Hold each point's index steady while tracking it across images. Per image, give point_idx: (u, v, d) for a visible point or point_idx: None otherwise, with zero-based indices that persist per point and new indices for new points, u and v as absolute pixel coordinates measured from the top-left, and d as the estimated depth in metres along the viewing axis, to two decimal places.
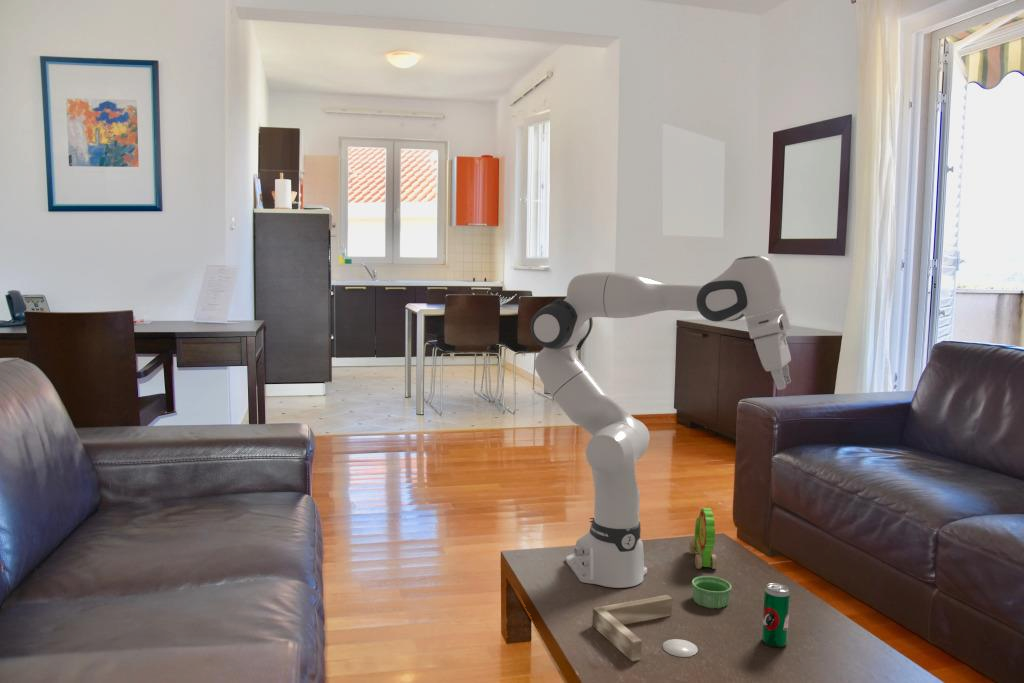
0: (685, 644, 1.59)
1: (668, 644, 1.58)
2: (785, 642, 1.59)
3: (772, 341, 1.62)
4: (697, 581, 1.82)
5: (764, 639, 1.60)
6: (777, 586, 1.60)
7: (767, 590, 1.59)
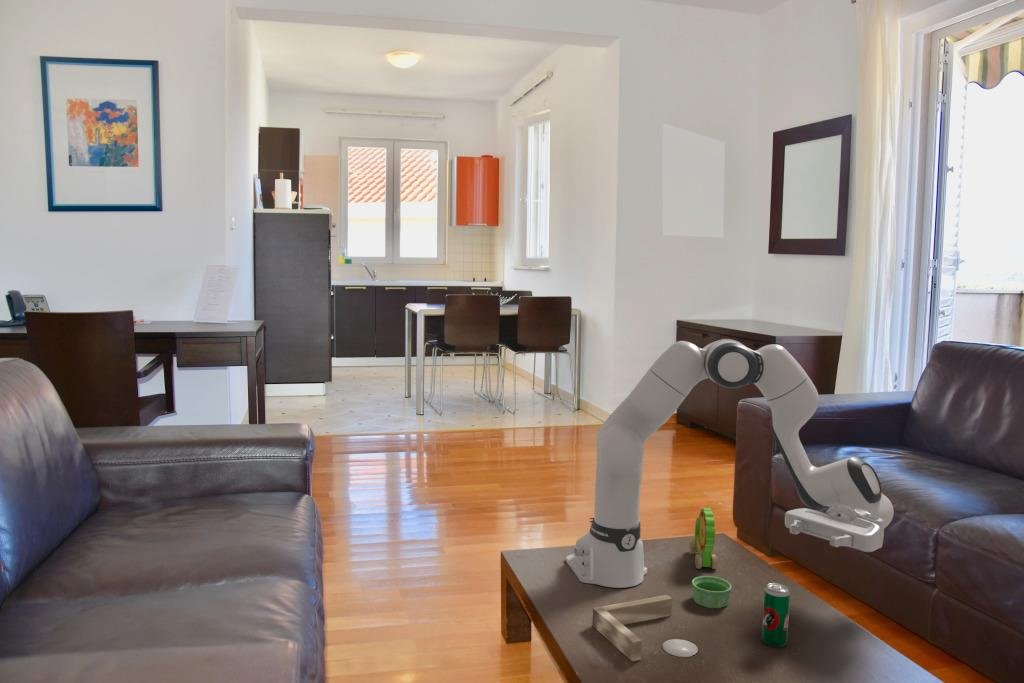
0: (685, 644, 1.59)
1: (668, 644, 1.58)
2: (785, 642, 1.59)
3: (879, 543, 1.65)
4: (697, 581, 1.82)
5: (764, 639, 1.60)
6: (777, 586, 1.60)
7: (767, 590, 1.59)
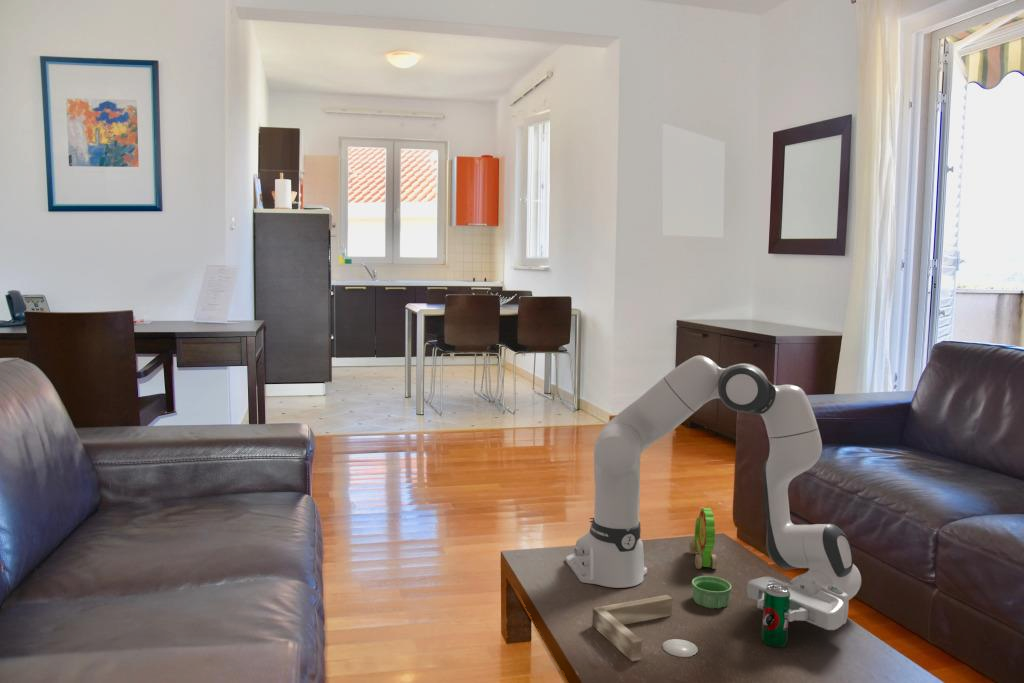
0: (685, 644, 1.59)
1: (668, 644, 1.58)
2: (785, 642, 1.59)
3: (842, 620, 1.59)
4: (697, 581, 1.82)
5: (764, 639, 1.60)
6: (777, 586, 1.60)
7: (767, 590, 1.59)
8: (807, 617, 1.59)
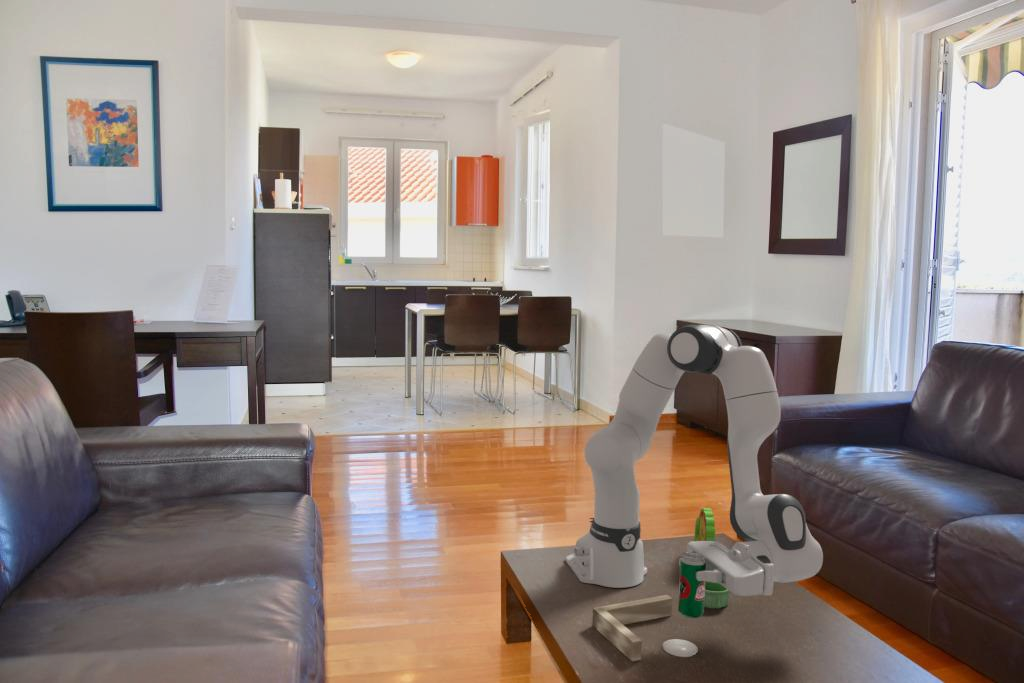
0: (685, 644, 1.59)
1: (668, 644, 1.58)
2: (698, 613, 1.54)
3: (760, 589, 1.49)
4: None
5: (678, 608, 1.56)
6: (694, 555, 1.56)
7: (682, 558, 1.56)
8: (721, 580, 1.52)
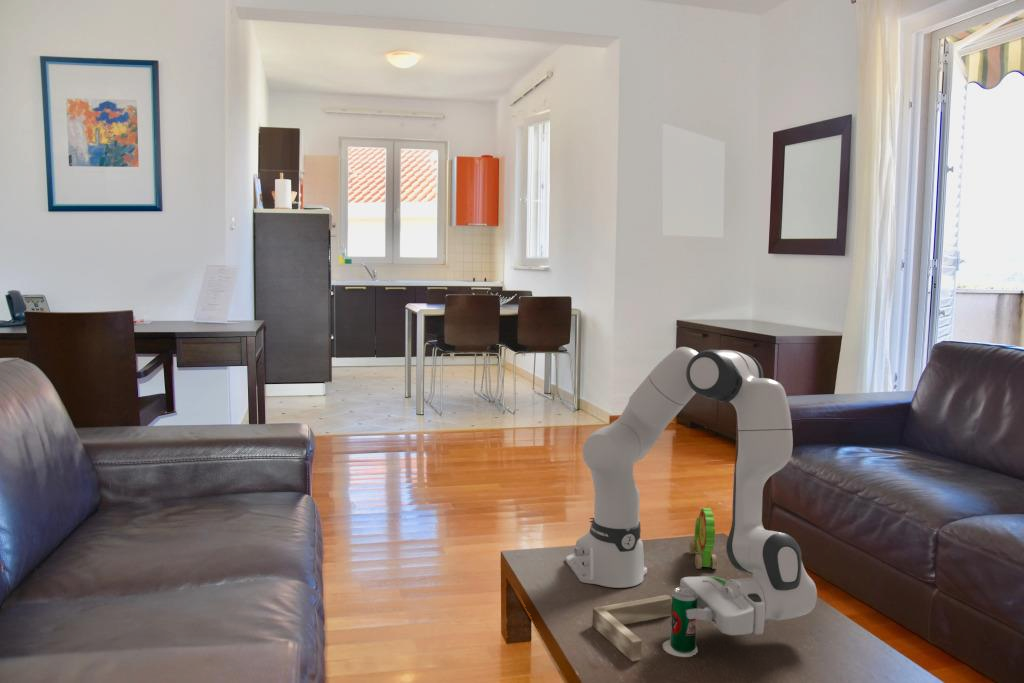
0: None
1: (668, 644, 1.58)
2: (689, 649, 1.55)
3: (750, 629, 1.50)
4: None
5: (670, 643, 1.57)
6: (685, 590, 1.56)
7: (673, 593, 1.56)
8: (712, 618, 1.52)
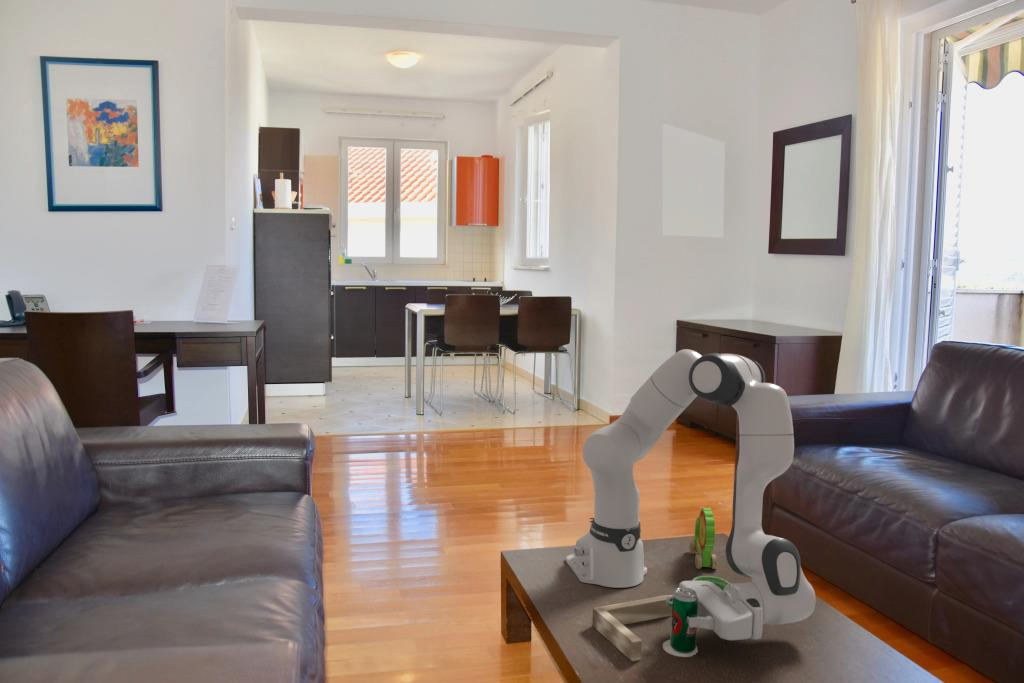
0: None
1: (668, 644, 1.58)
2: (690, 649, 1.55)
3: (748, 634, 1.50)
4: None
5: (670, 643, 1.57)
6: (686, 591, 1.56)
7: (674, 593, 1.56)
8: None
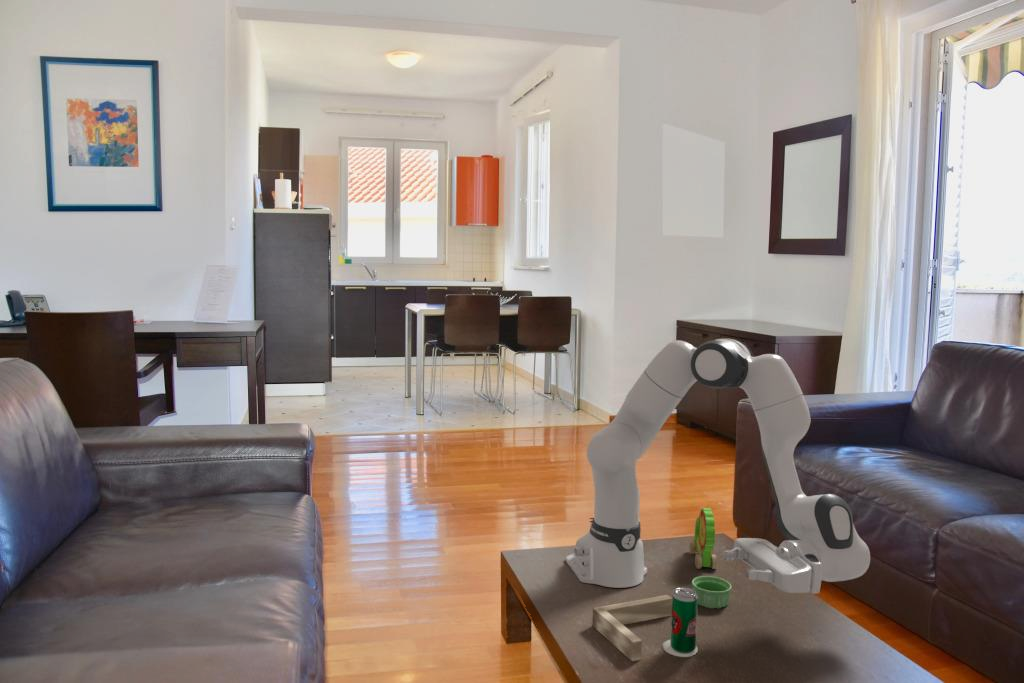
0: None
1: (668, 644, 1.58)
2: (689, 649, 1.55)
3: (807, 587, 1.52)
4: (697, 581, 1.82)
5: (670, 643, 1.57)
6: (686, 591, 1.56)
7: (674, 593, 1.56)
8: None
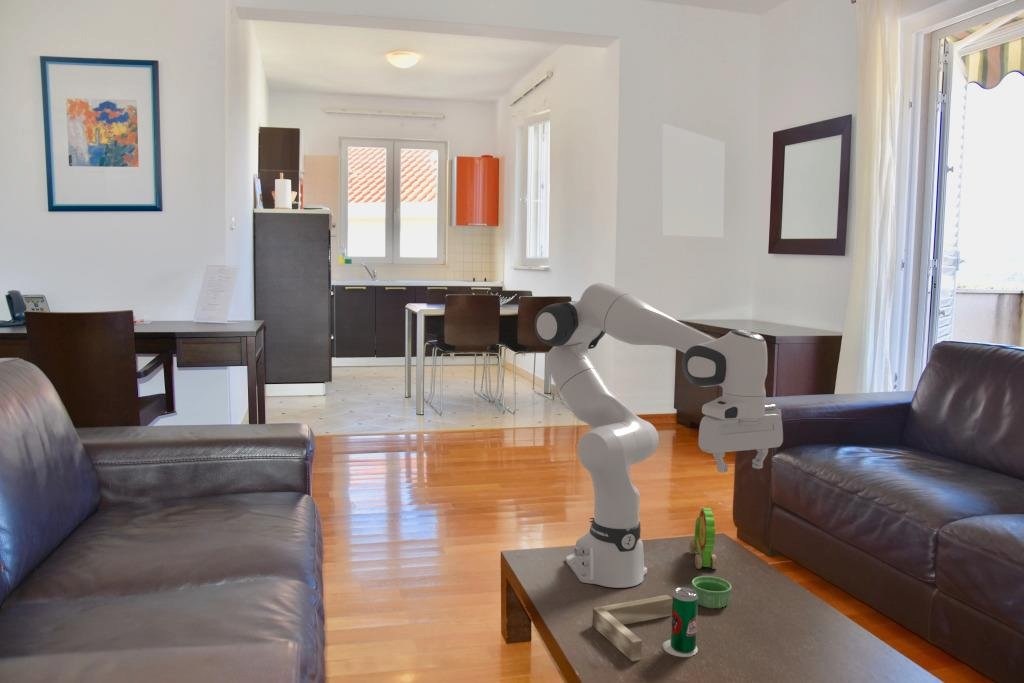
0: None
1: (668, 644, 1.58)
2: (689, 649, 1.55)
3: (710, 425, 1.61)
4: (697, 581, 1.82)
5: (670, 643, 1.57)
6: (686, 590, 1.56)
7: (674, 593, 1.56)
8: None
